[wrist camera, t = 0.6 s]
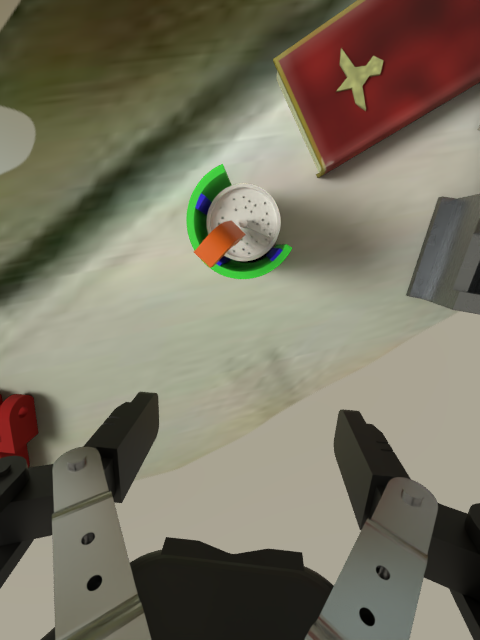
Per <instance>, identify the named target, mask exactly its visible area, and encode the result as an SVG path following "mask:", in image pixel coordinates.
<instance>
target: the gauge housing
mask: <svg viewBox="0 0 480 640" xmlns="http://www.w3.org/2000/svg"><path fill="white" fill-rule="evenodd" d="M406 295H407V296H410V297H415V298H421V299H424V300H427V301H430V302H433V303H435V304H438V305H441V306H444V307H447V308H450V309H452V310H457V311H463V312H469V313H475V314H480V194H477V195H472V196H468V197H463V198H458V199H454V198H448V197H439V198H438V201H437V204H436V207H435V210H434V213H433V216H432V219H431V222H430V225H429V228H428V231H427V234H426V237H425V240H424V243H423V246H422V249H421V252H420V255H419V258H418V261H417V264H416V267H415V270H414V273H413V276H412V279H411V282H410V285H409V288H408V291H407V294H406Z"/></svg>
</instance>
